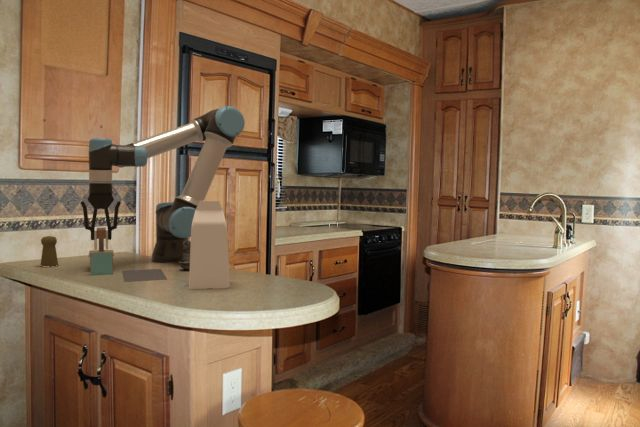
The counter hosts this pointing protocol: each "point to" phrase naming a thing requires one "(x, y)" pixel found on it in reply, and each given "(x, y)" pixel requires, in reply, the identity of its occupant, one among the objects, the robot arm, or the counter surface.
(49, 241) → the cork
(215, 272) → the milk
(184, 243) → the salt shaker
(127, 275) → the mat
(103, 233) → the trowel
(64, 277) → the counter surface
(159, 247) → the robot arm
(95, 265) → the tile
